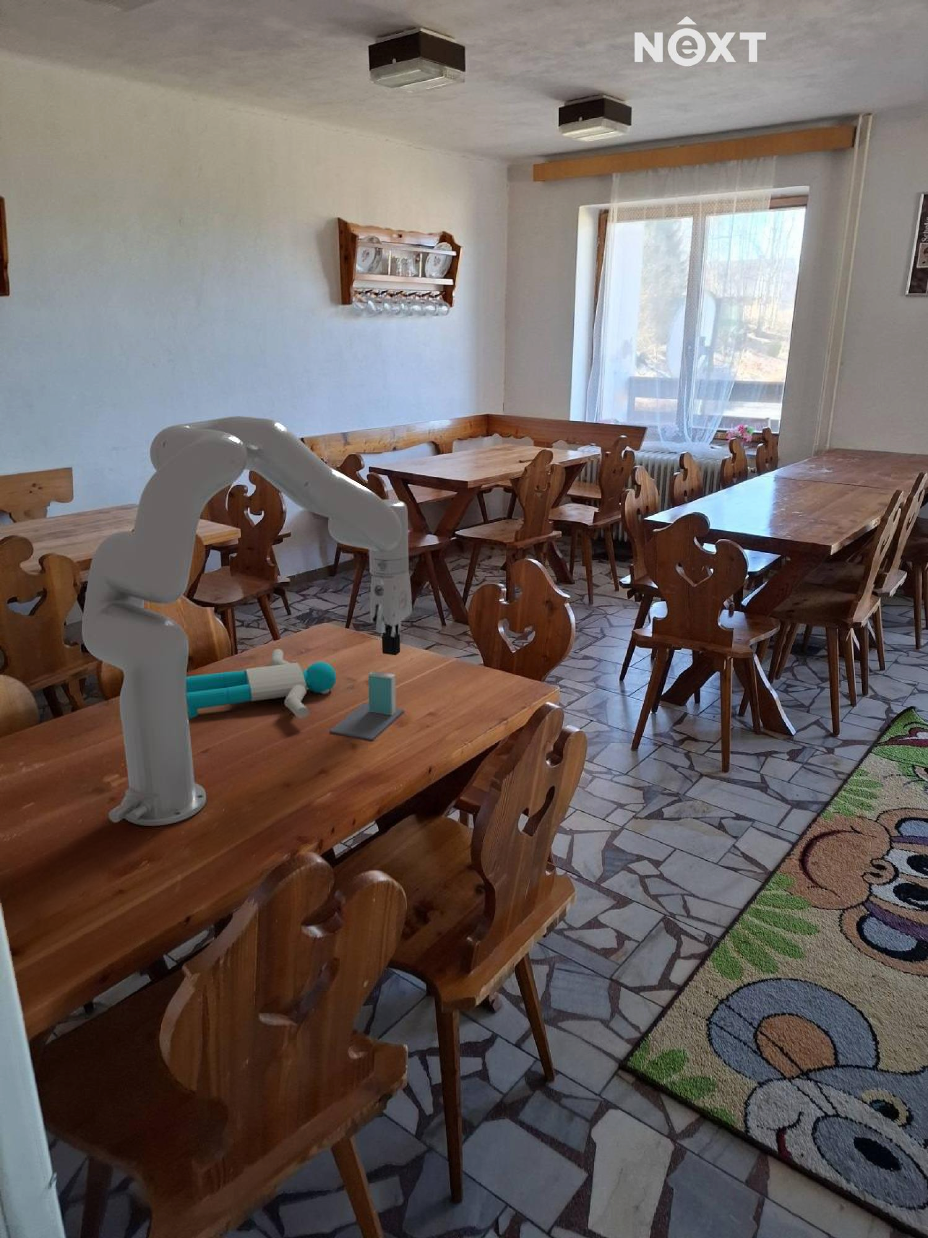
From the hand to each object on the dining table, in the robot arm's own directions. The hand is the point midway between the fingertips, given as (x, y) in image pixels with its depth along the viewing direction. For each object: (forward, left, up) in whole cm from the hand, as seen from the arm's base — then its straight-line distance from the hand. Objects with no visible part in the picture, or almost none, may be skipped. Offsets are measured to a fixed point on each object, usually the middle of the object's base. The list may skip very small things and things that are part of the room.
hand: (391, 653), depth 169 cm
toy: (-8, +25, -11) cm, 29 cm away
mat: (-10, 0, -11) cm, 15 cm away
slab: (-6, -1, -10) cm, 12 cm away
